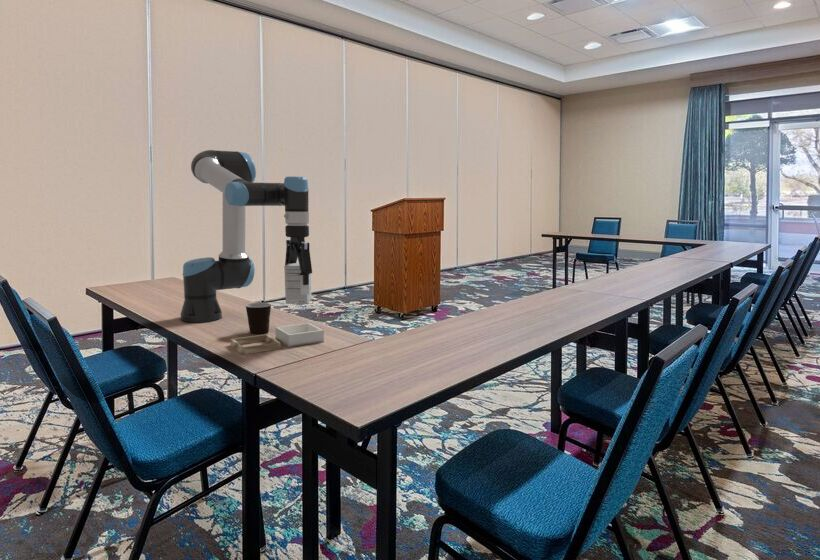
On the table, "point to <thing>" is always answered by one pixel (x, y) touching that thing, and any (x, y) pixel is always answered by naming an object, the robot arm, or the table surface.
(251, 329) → the coffee mug
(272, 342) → the corral
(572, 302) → the table surface
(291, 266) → the supplement box
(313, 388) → the table surface
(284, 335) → the bin
